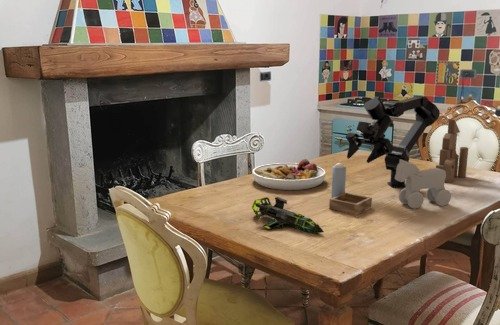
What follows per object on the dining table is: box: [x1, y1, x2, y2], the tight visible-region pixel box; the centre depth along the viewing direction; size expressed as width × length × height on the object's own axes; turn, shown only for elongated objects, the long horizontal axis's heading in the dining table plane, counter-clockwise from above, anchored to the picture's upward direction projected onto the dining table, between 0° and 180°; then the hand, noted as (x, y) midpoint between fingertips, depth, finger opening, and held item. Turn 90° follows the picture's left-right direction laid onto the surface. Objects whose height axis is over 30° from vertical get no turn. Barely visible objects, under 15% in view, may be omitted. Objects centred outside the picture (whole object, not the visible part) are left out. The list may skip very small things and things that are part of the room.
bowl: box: [251, 158, 326, 191], centre depth 209 cm, size 30×30×8 cm
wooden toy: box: [435, 118, 469, 184], centre depth 211 cm, size 16×7×25 cm, turn 133°
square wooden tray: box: [328, 192, 373, 216], centre depth 174 cm, size 10×10×4 cm
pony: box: [395, 159, 452, 210], centre depth 176 cm, size 20×10×17 cm, turn 105°
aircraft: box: [251, 196, 325, 234], centre depth 159 cm, size 17×28×6 cm, turn 44°
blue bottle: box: [330, 162, 347, 199], centre depth 182 cm, size 5×5×14 cm
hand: (357, 160), depth 185 cm, fingers open, 9 cm apart
